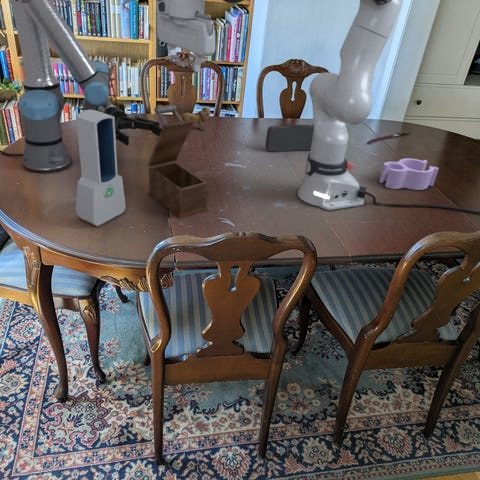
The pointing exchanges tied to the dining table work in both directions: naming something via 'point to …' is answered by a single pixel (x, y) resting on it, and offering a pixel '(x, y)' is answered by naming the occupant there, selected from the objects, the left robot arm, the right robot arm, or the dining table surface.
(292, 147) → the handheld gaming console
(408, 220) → the dining table surface
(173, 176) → the chest
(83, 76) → the left robot arm
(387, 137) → the sword
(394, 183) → the clip
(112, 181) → the electronic device
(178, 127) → the lid
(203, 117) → the lion figurine
